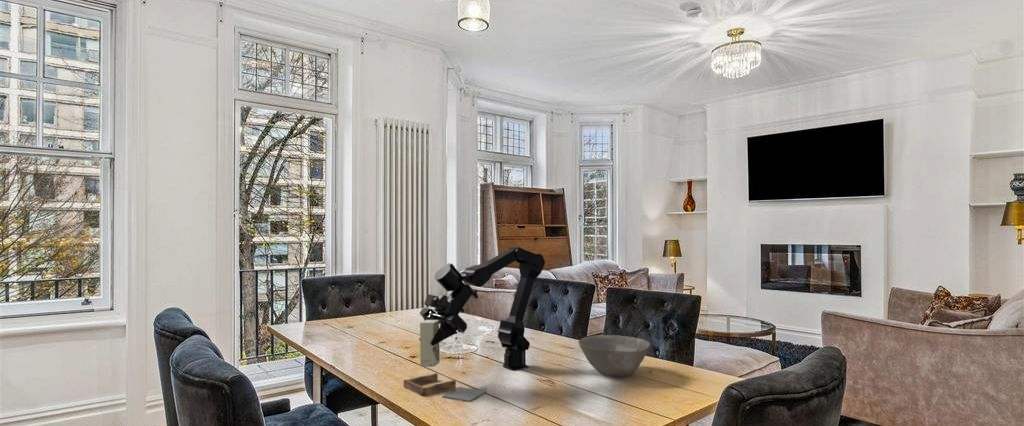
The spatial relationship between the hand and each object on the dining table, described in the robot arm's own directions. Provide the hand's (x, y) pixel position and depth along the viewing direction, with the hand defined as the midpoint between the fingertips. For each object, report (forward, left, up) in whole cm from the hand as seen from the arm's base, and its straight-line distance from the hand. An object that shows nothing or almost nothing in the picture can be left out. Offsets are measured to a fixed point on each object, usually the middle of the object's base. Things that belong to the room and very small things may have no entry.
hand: (425, 342), depth 153 cm
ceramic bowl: (-55, +22, -13) cm, 61 cm away
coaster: (-6, +12, -13) cm, 19 cm away
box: (-1, 0, -7) cm, 7 cm away
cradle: (-1, 0, -13) cm, 13 cm away
